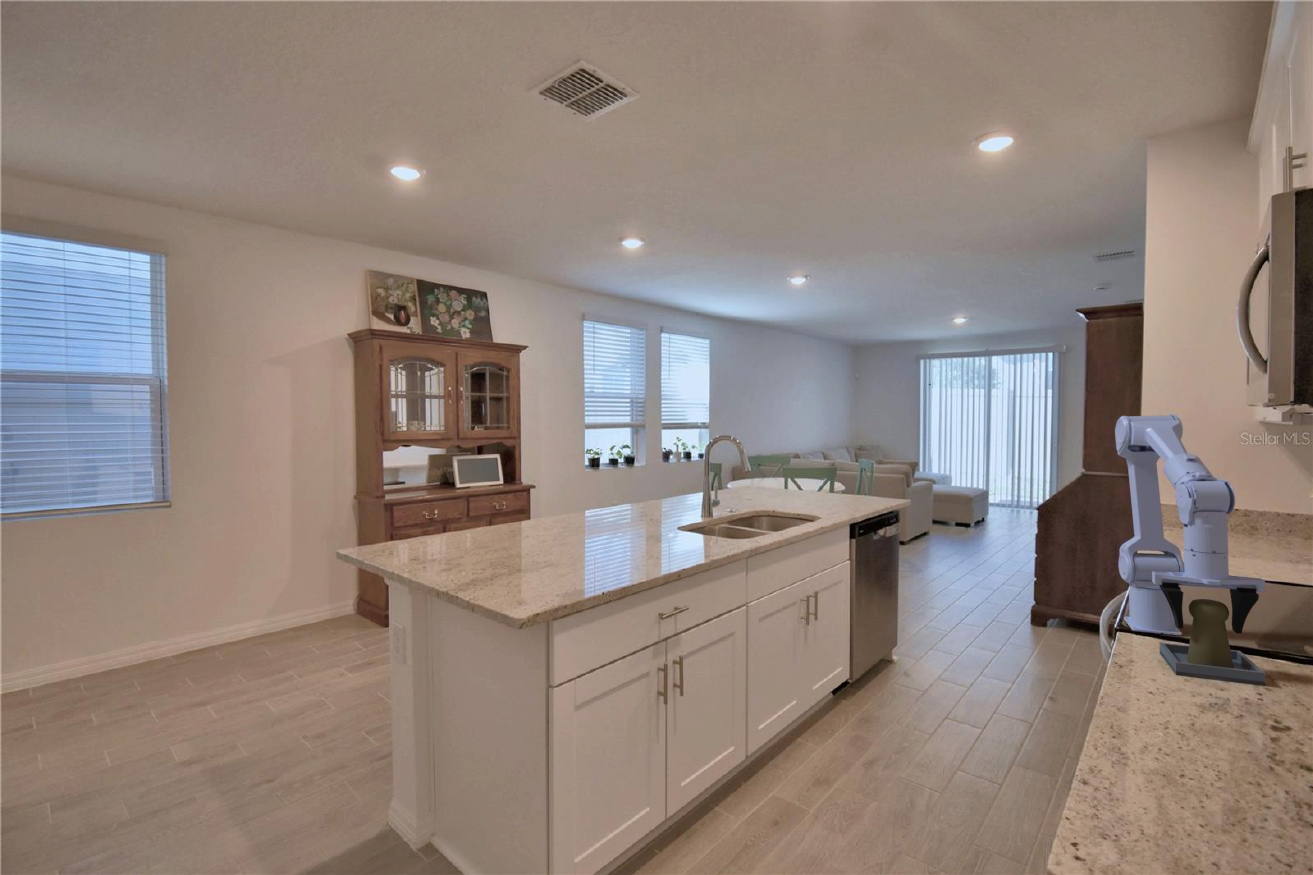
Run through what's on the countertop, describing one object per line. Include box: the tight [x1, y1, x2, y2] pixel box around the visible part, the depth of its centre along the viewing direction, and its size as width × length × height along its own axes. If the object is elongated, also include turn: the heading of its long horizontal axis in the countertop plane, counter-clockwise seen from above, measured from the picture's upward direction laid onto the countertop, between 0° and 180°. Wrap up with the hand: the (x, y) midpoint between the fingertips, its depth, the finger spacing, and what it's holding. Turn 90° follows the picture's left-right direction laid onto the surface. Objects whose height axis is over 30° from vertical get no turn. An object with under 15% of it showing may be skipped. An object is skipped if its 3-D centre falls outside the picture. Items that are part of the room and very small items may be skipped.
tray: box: [1159, 642, 1266, 687], centre depth 106 cm, size 11×11×2 cm
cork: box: [1187, 598, 1234, 668], centre depth 107 cm, size 6×6×11 cm
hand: (1207, 629), depth 107 cm, fingers open, 7 cm apart
